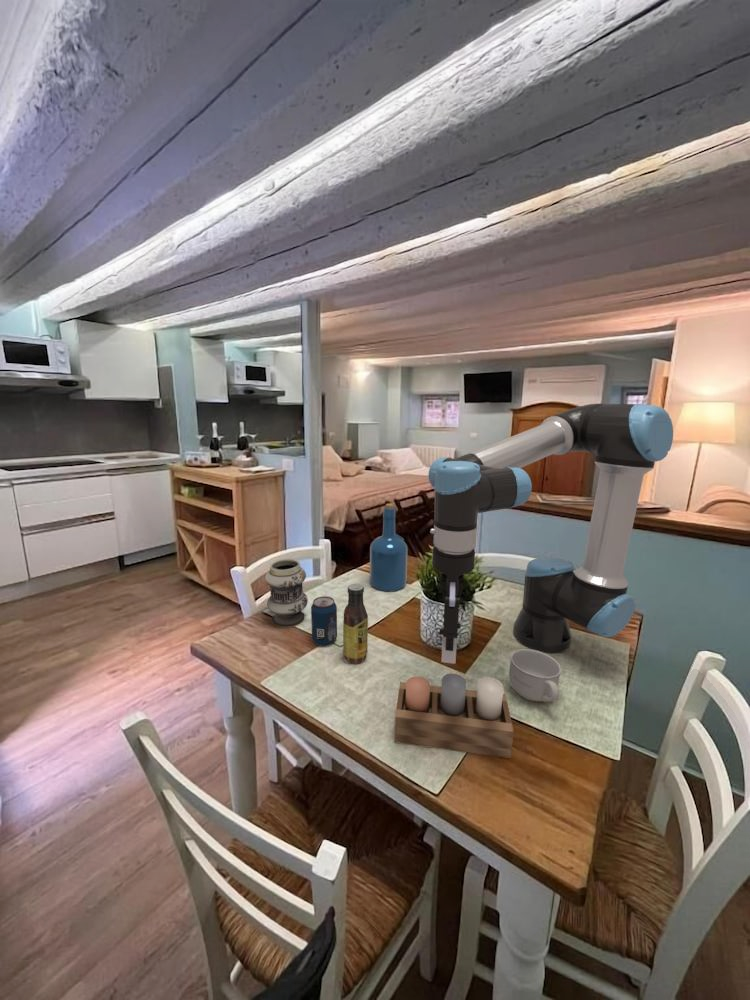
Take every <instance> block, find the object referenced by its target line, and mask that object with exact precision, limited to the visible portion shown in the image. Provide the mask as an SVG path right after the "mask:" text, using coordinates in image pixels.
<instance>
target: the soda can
mask: <svg viewBox="0 0 750 1000" xmlns="http://www.w3.org/2000/svg"><path fill="white" fill-rule="evenodd" d="M337 608H338V607H337V604H336V602H335V599H334V598H333V597H331V596H327V595H326V596H318V597H316V598H314V599H313V601H312V604H311V607H310V615H311V622H310V623H311V639H312V641H313V642H314V643H315V645H317V646H320V647H328V646H331V645H332V644H334V643H335V641H336V640H337V638H338V609H337Z"/></svg>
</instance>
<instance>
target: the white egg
mask: <svg viewBox="0 0 750 1000" xmlns="http://www.w3.org/2000/svg"><path fill="white" fill-rule="evenodd" d="M476 688H477V690H476V691H477V700H476V712H477V714H478V715H479V716H480V717H481V718H483V719H485V720H489V721H494V720H497V719H499V718H500V716H501V708H502V698H503V694H504V685H503V683H502V682H501V681H499V680H498V679H496V678H493V677H489V676H487V677H486V676H484V677H482V678H480V679H478V681H477V687H476Z"/></svg>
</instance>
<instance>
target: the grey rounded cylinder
mask: <svg viewBox="0 0 750 1000" xmlns="http://www.w3.org/2000/svg"><path fill="white" fill-rule="evenodd" d="M440 684H441V686H440V687H441V700H440V707H441V710H442V711H443V712H444V713H446V714H447V715H450V716H459V715H461V714H462V713H463V712H464V709H465V696H466V690H467V680H466V679H465V678H464V676H462V675H460V674H457V673H453V672H451V673H446V674H444V675H443V676H442V678H441V683H440Z"/></svg>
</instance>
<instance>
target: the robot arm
mask: <svg viewBox="0 0 750 1000" xmlns="http://www.w3.org/2000/svg"><path fill="white" fill-rule="evenodd" d="M673 440H674V426H673V421H672V418H671V417H670V414H669V413H668V412H667V410H666V409H664V408H663V407H661V406H659V405H654V404H653V405H652V404H643V403H634V404H633V403H627V404H626V403H590V404H586V405H585V404H584V405H581V406H577V407H573V408H571V409H568V410H565V411H563V412H559V413H556V414H555V415H552V416H549V417H546V418H545V419H544V420H543V421H542V422H541V424H539V425H538V426H537V425H536V426H535V427H533V428H529V429H527V430H525V431H522V432H520V433H517V434H515V435H512V436H510V437H508V438H505V439H502V440H499V441H497V442H495V443H492V444H489V445H487V446H483V447H482V448H480V449H477V450H475V451H472V452H470V453H467V454H464V455H461V456H459V457H456V458H452V457H450V456H449V457H439V458H436V459H435V460H434V461H433V462H432V463H431V464H430V467H429V468H428V469H429V470H428V475H427V476H428V481H429V484H430V485H431V486H432V488H433V489H434V507H433V508H434V511H433V513H434V514H433V515H434V516H433V528H430V531H429V533H430V534H431V535H433V548H432V566H433V568H434V569H435V570H436V571H438V572H439V573H441V585H440V586H441V590H442V594H441V595H442V597H441V601H442V602H443V603H444V607H443V608H444V609H443V610H444V611H443V615H442V617H443V622H442V626H443V628H439V635H442V637H441V638H442V641H441V659H440V661H441V663H446V664H456V662H457V661H456V660H457V659H456V658H457V643H458V642H457V641H458V637H459V635H458V634H459V633H458V629H461V623H459V611H460V610H459V609H460V604H461V603H462V592H463V591H464V585H465V583H464V575H467V574H470V573H471V572H472V571H473V570H474V568H475V557H476V555H475V554H476V551H475V549H476V546H477V534H478V533H477V531H478V516H479V515H478V514H482V513H487V512H492V511H499V510H506V509H507V510H509V509H512V508H515V507H518V506H523V505H524V504H525V503H526V502H528V500H529V499H530V497H531V496H532V490H533V489H532V488H533V484H532V480H531V477H530V475H529V474H528V473H527V472H526V471H525V470H524V469H522V468H523V467H524V468H525V467H526V466H528V465H531V464H533V463H536V462H537V461H539V460H542V459H544V458H547V457H550V456H552V455H555V456H562V455H564V454H567V453H571V452H581V453H583V452H584V453H591V454H595V457H594V463H595V465H596V466H597V467H598V469H599V474H598V475H599V476H598V481H597V486H596V492H595V495H594V496H595V497H594V502H593V508H592V512H591V517H590V522H589V523H590V524H589V528H588V529H589V530H588V533H587V534H588V535H587V537H586V538H587V539H586V543H585V544H586V545H585V549H584V553H583V561H582V564H581V565H582V566H580V567H577V568H576V569H575V565H574V563H573V562H572V561H570V560H567V559H563V558H559V557H538V558H537V557H536V558H533V559H531V560H530V561H529V562H527V565H526V571H525V574H524V584H523V585H524V587H523V597H522V607H521V608H520V611H519V613H518V615H517V616H516V619H515V621H514V623H513V631H512V632H513V633H512V634H513V636H514V638H515V639H516V640H517V642H519V643H521V644H522V645H524V646H525V647H526V648H529V649H531V650H536V651H540V652H543V653H546V654H547V653H549V654H554V653H555V654H557V653H562V652H566V651H567V650H568V649H569V648H571V642H572V632H571V629H570V624H569V621H571V622H572V623H574V624H577V625H578V626H580V627H582V628H584V629H585V630H587V631H588V632H590V633H594V634H596V635H598V636H600V637H603V638H611V637H614V636H616V635H618V634H619V633H621V632H622V630H624V628H626V626H627V625H628V623H630V622H631V619H632V618H633V615H634V613H635V609H636V605H637V603H636V601H635V600H636V599H635V597H633V596H632V595H631V594H629V593H627V592H628V586H629V582H628V581H627V579H626V578H625V577H624V575H623V574H624V569H625V565H626V561H627V560H626V559H627V555H628V551H629V546H630V540H631V536H632V531H633V527H634V522H635V517H636V514H637V509H638V503H639V498H640V494H641V490H642V484H643V481H644V476H645V475H647V473H649V472H651V471H652V470H654V468H655V463H656V462H661V461H662V460H664V459H665V458H666V457H667V456H668V453H669V452H670V450H671V448H672V445H673Z"/></svg>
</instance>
